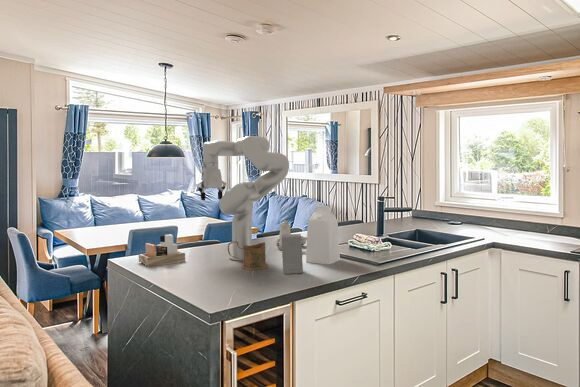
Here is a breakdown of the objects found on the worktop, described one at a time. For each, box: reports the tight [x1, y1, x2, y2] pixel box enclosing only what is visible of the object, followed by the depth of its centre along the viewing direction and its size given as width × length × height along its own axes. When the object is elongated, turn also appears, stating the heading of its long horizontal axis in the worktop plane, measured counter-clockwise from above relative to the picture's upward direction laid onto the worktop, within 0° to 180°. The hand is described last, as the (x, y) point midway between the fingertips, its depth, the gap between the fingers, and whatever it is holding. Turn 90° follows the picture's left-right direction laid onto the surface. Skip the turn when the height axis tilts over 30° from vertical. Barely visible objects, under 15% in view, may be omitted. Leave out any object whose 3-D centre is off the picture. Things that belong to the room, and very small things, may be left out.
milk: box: [305, 204, 341, 265], centre depth 208 cm, size 12×12×26 cm
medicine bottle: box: [155, 233, 179, 256], centre depth 214 cm, size 7×7×12 cm
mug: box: [227, 241, 269, 271], centre depth 197 cm, size 12×18×12 cm, turn 111°
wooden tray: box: [138, 250, 186, 267], centre depth 213 cm, size 12×18×4 cm, turn 129°
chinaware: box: [275, 219, 307, 251], centre depth 243 cm, size 28×17×17 cm, turn 172°
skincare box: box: [281, 233, 304, 275], centre depth 185 cm, size 8×7×16 cm
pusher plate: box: [144, 242, 156, 257], centre depth 209 cm, size 9×1×8 cm, turn 39°
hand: (211, 199), depth 230 cm, fingers open, 9 cm apart
